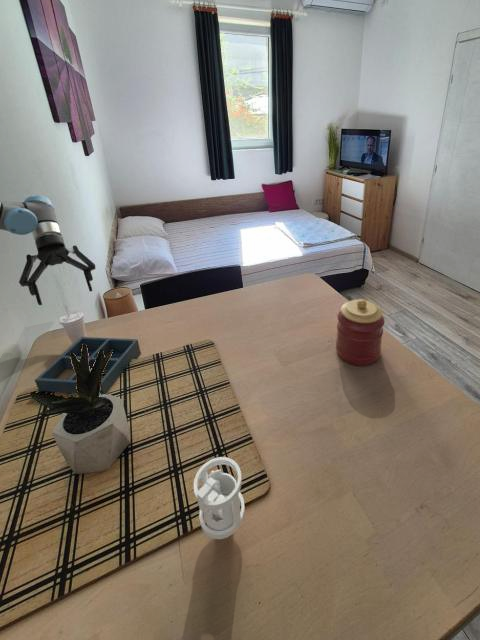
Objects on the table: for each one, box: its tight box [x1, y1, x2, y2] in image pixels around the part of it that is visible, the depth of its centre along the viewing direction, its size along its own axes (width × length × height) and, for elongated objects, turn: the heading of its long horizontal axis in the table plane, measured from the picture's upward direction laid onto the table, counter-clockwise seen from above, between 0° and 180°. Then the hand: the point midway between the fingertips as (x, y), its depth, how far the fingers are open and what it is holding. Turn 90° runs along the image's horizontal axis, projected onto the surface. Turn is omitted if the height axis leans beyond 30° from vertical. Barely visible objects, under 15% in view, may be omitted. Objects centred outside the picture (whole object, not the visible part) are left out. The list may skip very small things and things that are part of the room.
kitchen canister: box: [335, 298, 385, 367], centre depth 93 cm, size 13×13×18 cm
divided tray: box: [34, 336, 142, 395], centre depth 88 cm, size 17×17×5 cm
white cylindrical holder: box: [193, 456, 246, 540], centre depth 51 cm, size 7×7×15 cm
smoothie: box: [58, 304, 87, 345], centre depth 99 cm, size 6×6×14 cm
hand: (66, 296), depth 102 cm, fingers open, 13 cm apart
